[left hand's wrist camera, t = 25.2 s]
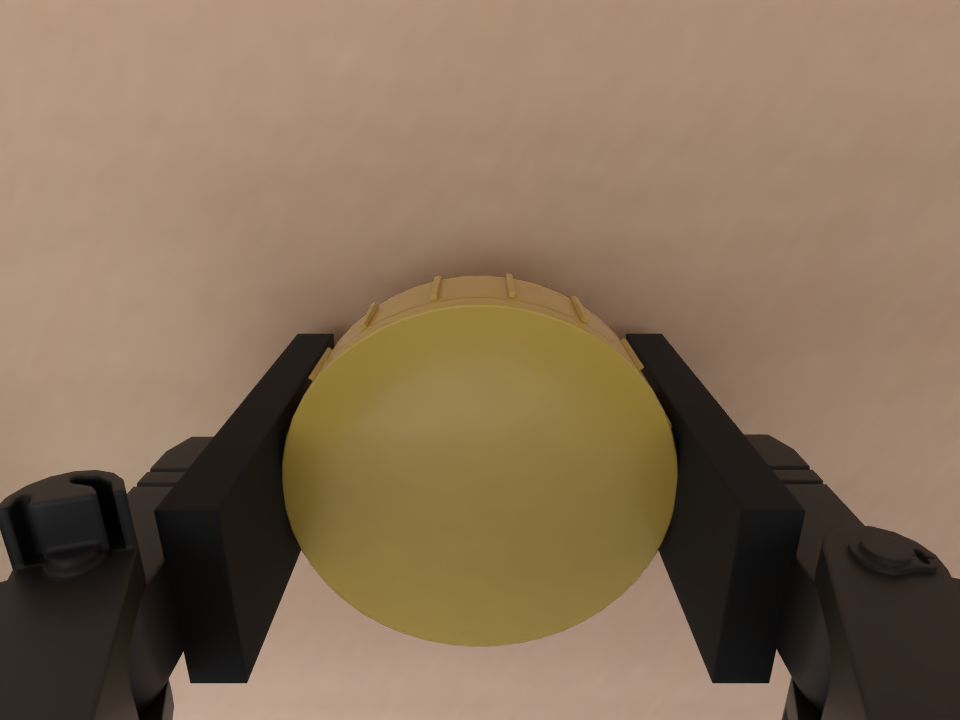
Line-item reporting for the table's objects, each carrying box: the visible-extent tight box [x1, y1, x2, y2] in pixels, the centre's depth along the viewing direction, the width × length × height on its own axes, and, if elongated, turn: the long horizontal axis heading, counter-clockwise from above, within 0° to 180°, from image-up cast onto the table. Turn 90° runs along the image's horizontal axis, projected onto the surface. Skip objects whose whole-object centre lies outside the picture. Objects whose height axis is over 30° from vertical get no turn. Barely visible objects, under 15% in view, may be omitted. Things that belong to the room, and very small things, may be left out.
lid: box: [282, 273, 678, 646], centre depth 11 cm, size 6×6×2 cm
